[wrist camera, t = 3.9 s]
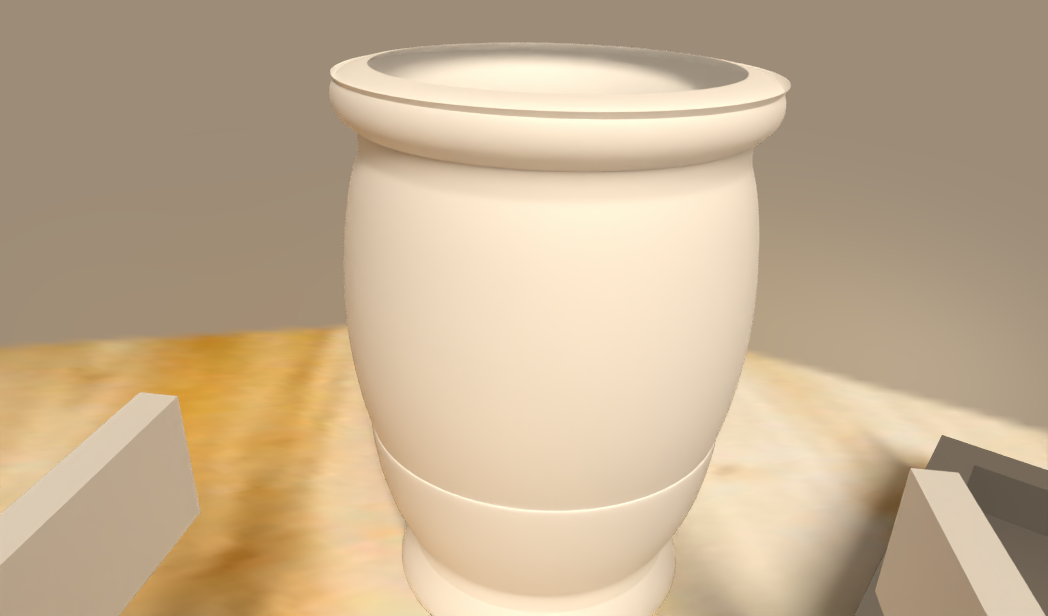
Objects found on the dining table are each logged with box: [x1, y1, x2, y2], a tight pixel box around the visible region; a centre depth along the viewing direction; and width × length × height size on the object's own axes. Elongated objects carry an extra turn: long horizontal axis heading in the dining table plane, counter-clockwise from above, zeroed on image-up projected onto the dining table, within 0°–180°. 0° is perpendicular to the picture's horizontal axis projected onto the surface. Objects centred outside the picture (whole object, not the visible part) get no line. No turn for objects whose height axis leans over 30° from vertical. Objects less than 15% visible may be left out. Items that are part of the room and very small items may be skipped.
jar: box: [329, 43, 791, 616], centre depth 21 cm, size 11×10×15 cm
